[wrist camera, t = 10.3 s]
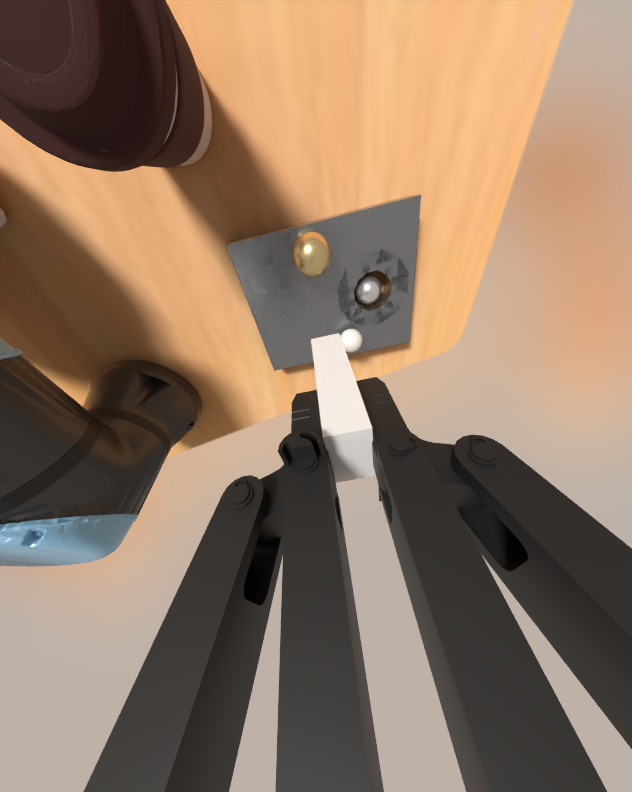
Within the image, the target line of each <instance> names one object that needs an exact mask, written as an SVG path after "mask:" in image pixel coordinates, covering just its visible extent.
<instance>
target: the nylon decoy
mask: <svg viewBox="0 0 632 792" xmlns="http://www.w3.org/2000/svg"><path fill="white" fill-rule="evenodd" d="M340 337H341V340H342V342H343V345H344V348H345V351H347V352H354V351H356V350H358V349H359V348H360V346H361V344H362V336H361V334H360V332H359V331H357V330H355V329H347V330H345V331H344V332H343V333H342V334H341V335H340Z"/></svg>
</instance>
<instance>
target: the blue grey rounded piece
mask: <svg viewBox="0 0 632 792" xmlns="http://www.w3.org/2000/svg"><path fill="white" fill-rule="evenodd" d="M6 221H7V219H6V216H5V213H4V211H2V210H1V209H0V228H1V227H2V226H3V225H4V224H5V223H6Z"/></svg>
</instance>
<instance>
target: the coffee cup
mask: <svg viewBox="0 0 632 792" xmlns="http://www.w3.org/2000/svg"><path fill="white" fill-rule="evenodd" d="M0 119H1V120H2V121H3V122H4V123H6V124H7V125H8V126H10V127H11V128H12V129H13V130H15V131H16V132H17V133H19V134H20V135H21V136H22V137H24V138H25V139H27V140H28V141H30V142H31V143H33V144H34V145H36V146H37V147H39V148H41V149H43V150H44V151H46V152H48V153H50V154H52V155H54V156H56V157H58V158H60V159H63V160H65V161H67V162H70V163H73V164H76V165H78V166H83V167H87V168H92V169H98V170H103V171H112V172H115V171H126V170H131V169H134V168H137V167H140V166H151V167H164V168H168V167H175V166H187V165H191V164H193V163H195V162H197V161H198V160H199V159H200V158H201V157H202V156H203V155H204V153H205V152H206V150H207V148H208V146H209V143H210V139H211V135H212V112H211V105H210V100H209V96H208V93H207V89H206V86H205V84H204V81H203V79H202V76H201V74H200V72H199V70H198V68H197V66H196V64H195V61H194V58H193V55H192V53H191V50H190V48H189V46H188V44H187V41H186V39H185V37H184V35H183V33H182V31H181V29H180V28H179V26H178V24H177V22H176V20H175V18H174V16H173V14H172V12H171V10H170V8H169V6H168V4H167V3H166V1H165V0H0Z"/></svg>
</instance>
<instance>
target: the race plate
mask: <svg viewBox="0 0 632 792" xmlns="http://www.w3.org/2000/svg"><path fill="white" fill-rule="evenodd" d="M420 200H421V195H414V196H408V197H404V198H400V199H396V200H392V201H389V202H385V203H381V204H377V205H373V206H369V207H365V208H361V209H358V210H354V211H350V212H346V213H342V214H338V215H334V216H330V217H327V218H323V219H319V220H315V221H311V222H307V223H303V224H299V225H296V226H292V227H288V228H284V229H280V230H276V231H272V232H268V233H265V234H261V235H257V236H253V237H249V238H245V239H241V240H237V241H234V242H230V243H229V244H227V245H226V246H227V249H228V252H229V254H230V257H231V259H232V262H233V265H234V267H235V270H236V272H237V275H238V278H239V280H240V283H241V285H242V288H243V291H244V293H245V296H246V298H247V301H248V304H249V306H250V309H251V311H252V314H253V316H254V319H255V322H256V324H257V327H258V329H259V332H260V335H261V337H262V340H263V342H264V345H265V348H266V350H267V353H268V355H269V358H270V361H271V363H272V366H273V368H274V371H275V370H280V369H284V368H289V367H294V366H298V365H303V364H308V363H313V362H314V360H313V352H312V344H311V339H314V338H319V337H323V336H328V335H333V334H337V333H339V334H340V335H341V334H342V333H343V332H344V331H345V330H347V329H355V330H357V331H359V332H360V334H361V336H362V344H361V346H360V348H359V349H358V350H356V351H354V352H347V351H346V354H347V355H350V354H355V353H360V352H365V351H369V350H374V349H379V348H384V347H388V346H393V345H398V344H402V343H407V342H410V333H411V320H412V307H413V293H414V280H415V267H416V253H417V240H418V227H419V213H420ZM307 232H317V233H319V234H321V235H323V236H324V237H325V238H326V239H327V241H328V242H329V244H330V247H331V251H332V259H331V263H330V266H329V268H328V270H327V271H326V272H325V273H324V274H323V275H321V276H320V277H317V278H308V277H305V276H303V275H302V274H300V273H299V272H298V271H297V269H296V267H295V265H294V263H293V258H292V251H293V247H294V244H295V242H296V240H297V239H298V238H299V237H300V236H301V235H302V234H304V233H307ZM376 270H378V271H380V272H382V273H383V275H384V276H385V288H384V290H383V292H382V294H381V296H380V297H379V298H378V299H377V300H376V301H375V302H374V303H371V304H361V303H358V302H356V301H355V297H354V290H355V287H356V285H357V282H358V280H359V279H360V278H362V277H363V276H364V275H365V274H366V273H368V272H372V271H376Z"/></svg>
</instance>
